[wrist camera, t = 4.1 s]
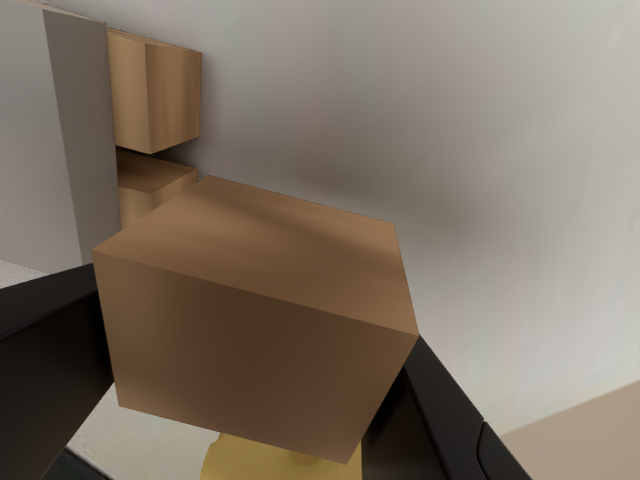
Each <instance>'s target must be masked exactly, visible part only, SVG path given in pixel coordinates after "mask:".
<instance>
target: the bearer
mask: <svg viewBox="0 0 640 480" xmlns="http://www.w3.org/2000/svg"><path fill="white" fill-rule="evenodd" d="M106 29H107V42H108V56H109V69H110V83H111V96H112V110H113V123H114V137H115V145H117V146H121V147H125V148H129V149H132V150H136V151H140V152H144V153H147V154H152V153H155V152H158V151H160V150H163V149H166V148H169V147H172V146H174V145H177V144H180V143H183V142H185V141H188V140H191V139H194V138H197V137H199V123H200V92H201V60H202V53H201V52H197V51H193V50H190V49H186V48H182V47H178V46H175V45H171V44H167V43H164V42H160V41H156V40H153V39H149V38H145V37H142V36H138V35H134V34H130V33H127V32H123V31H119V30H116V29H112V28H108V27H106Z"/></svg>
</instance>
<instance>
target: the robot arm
mask: <svg viewBox="0 0 640 480" xmlns="http://www.w3.org/2000/svg"><path fill="white" fill-rule="evenodd" d="M113 383H114V376H113V370H112V365H111V359H110V354H109V348H108V343H107V337H106V331H105V326H104V320H103V315H102V309H101V303H100V298H99V292H98V287H97V281H96V276H95V270H94V264H93V263H89V264H86V265H82V266H79V267H75V268H72V269H68V270H65V271H61V272H58V273H54V274H51V275H47V276H44V277H40V278H37V279H33V280H30V281H26V282H23V283H19V284H16V285H12V286H8V287H5V288H1V289H0V480H40V479H41V478H42V477H43V475H44V474H45V473H46V471H47V470H48V469H49V467H50V466H51V465H52V463H53V462H54V461H55V459H56V458H57V457H58V455H59V454H60V453H61V451H62V450H63V449H64V447H65V446H66V445H67V443H68V442H69V441H70V440H71V438H72V437H73V436H74V434H75V433H76V432H77V430H78V429H79V428H80V426H81V425H82V424H83V422H84V421H85V420H86V418H87V417H88V416H89V414H90V413H91V412H92V410H93V409H94V408H95V407H96V405H97V404H98V403H99V401H100V400H101V399H102V397H103V396H104V395H105V393H106V392H107V391H108V389H109V388H110V387H111V385H112V384H113ZM483 421H484V418H483V416H482V415H481V414H480V412H479V411H478V410H477V408H476V407H475V406H474V405H473V403H472V402H471V401H470V399H469V398H468V397H467V395H466V394H465V393H464V391H463V390H462V389H461V388H460V386H459V385H458V384H457V382H456V381H455V380H454V378H453V377H452V376H451V374H450V373H449V372H448V371H447V369H446V368H445V367H444V365H443V364H442V363H441V361H440V360H439V359H438V357H437V356H436V355H435V354H434V352H433V351H432V350H431V348H430V347H429V346H428V344H427V343H426V342H425V340H424V339H423V338H422V337H421V335H420V334H419V338H418V339H417V341H416V343H415V345H414V347H413V348H412V350H411V352H410V354H409V355H408V357H407V359H406V361H405V362H404V364H403V366H402V368H401V370H400V371H399V373H398V375H397V377H396V378H395V380H394V382H393V384H392V386H391V387H390V389H389V391H388V393H387V394H386V396H385V398H384V400H383V402H382V403H381V405H380V407H379V409H378V410H377V412H376V414H375V416H374V418H373V419H372V421H371V423H370V425H369V426H368V428H367V430H366V432H365V434H364V435H363V437H362V439H361V466H362V480H532V479H531V477H530V476H529V475H528V474H527V473H526V471H525V470H524V469H523V468H522V466H521V465H520V464H519V462H518V461H517V460H516V459H515V458H514V456H513V455H512V454H511V452H510V451H509V450H508V449H507V447H506V446H505V445H504V444H503V442H502V441H501V440H500V439H499V437H498V436H497V434H496V433H495V432H494V431H493V429H492V428H491V427H490V425H489V424H488V423H487V422H485V421H484V422H483Z"/></svg>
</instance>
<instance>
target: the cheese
mask: <svg viewBox="0 0 640 480" xmlns="http://www.w3.org/2000/svg"><path fill="white" fill-rule="evenodd" d="M200 480H362V466H361V441H360V442H359V444H358V446H357V448H356V450H355V451H354V453H353V455H352V457H351V458H350V460H349V462H348V464H347V465H345V464H341V463H337V462H333V461H329V460H325V459H321V458H318V457H314V456H310V455H306V454H302V453H298V452H294V451H291V450H287V449H283V448H279V447H275V446H271V445H267V444H263V443H260V442H256V441H252V440H248V439H244V438H240V437H236V436H232V435H229V434H225V433H221V432H220V435H219V438H218V440H217V441H215V442H213V443H212V444H211V445H210V447H209V449H208V452H207V454H206V457H205V460H204V463H203V466H202V470H201V475H200Z"/></svg>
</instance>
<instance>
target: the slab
mask: <svg viewBox="0 0 640 480" xmlns="http://www.w3.org/2000/svg"><path fill="white" fill-rule="evenodd" d="M120 231H121V218H120V205H119V191H118V177H117V164H116V150H115V137H114V123H113V110H112V96H111V83H110V69H109V56H108V42H107V29H106V23H104V22H100V21H97V20H94V19H91V18H87V17H84V16H81V15H77V14H74V13H71V12H68V11H64V10H61V9H58V8H55V7H51V6H48V5H45V4H42V3H38V2H35V1H32V0H0V260H4V261H7V262H11V263H14V264H18V265H21V266H25V267H28V268H32V269H35V270H39V271H42V272H46V273H49V274H54V273H58V272H61V271H65V270H68V269H72V268H75V267H79V266H82V265H86V264H89V263H93V259H92V253H91V250H92V249H93V248H95V247H96V246H98V245H100V244H101V243H103V242H104V241H106V240H107V239H109V238H111V237H112V236H114V235H115V234H117V233H118V232H120Z"/></svg>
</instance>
